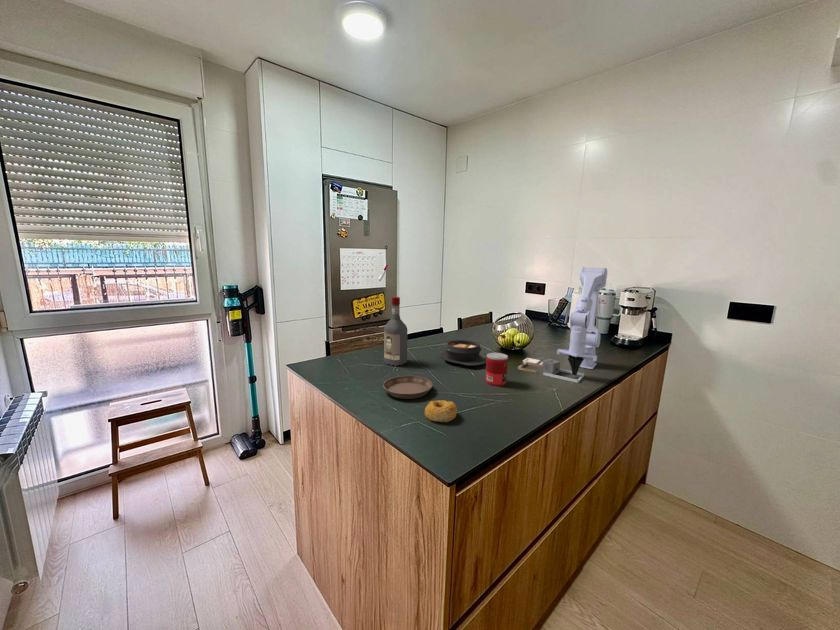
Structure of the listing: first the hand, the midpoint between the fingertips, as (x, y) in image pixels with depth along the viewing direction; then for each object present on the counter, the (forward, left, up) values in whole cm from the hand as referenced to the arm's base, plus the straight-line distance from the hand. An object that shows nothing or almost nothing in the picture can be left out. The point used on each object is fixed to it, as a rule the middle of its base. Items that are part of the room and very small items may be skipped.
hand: (574, 374), depth 134 cm
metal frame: (0, -4, -1) cm, 4 cm away
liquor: (+33, -68, -2) cm, 76 cm away
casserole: (+11, -46, -2) cm, 48 cm away
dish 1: (-9, -21, -1) cm, 23 cm away
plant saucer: (+54, -43, -2) cm, 69 cm away
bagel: (+61, -24, -2) cm, 66 cm away
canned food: (+26, -22, -2) cm, 34 cm away
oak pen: (0, -18, -1) cm, 18 cm away
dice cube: (-1, -10, -2) cm, 10 cm away
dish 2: (-9, -13, -1) cm, 16 cm away
